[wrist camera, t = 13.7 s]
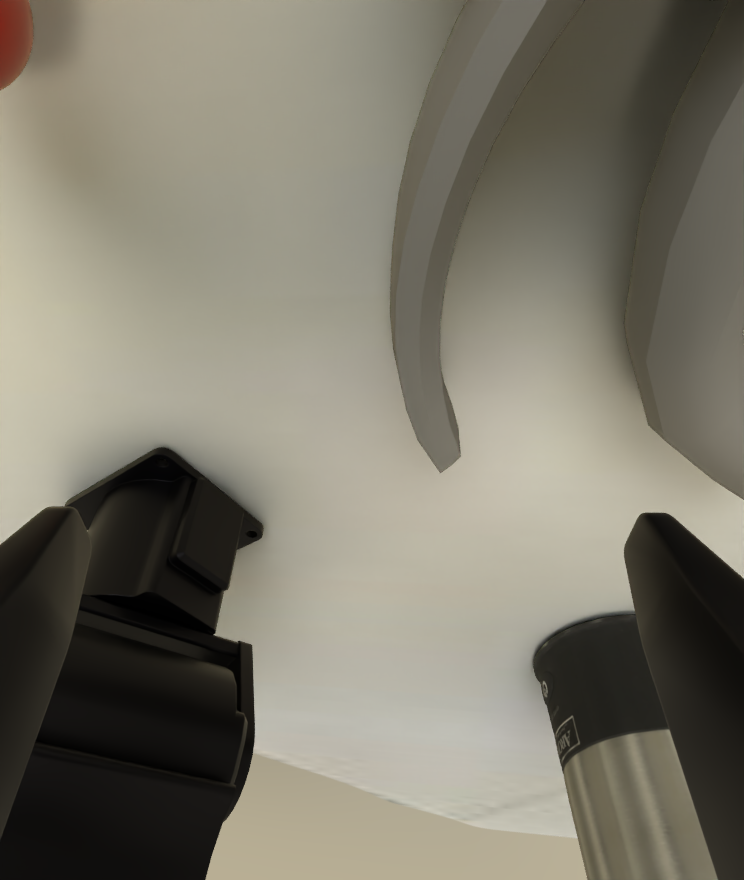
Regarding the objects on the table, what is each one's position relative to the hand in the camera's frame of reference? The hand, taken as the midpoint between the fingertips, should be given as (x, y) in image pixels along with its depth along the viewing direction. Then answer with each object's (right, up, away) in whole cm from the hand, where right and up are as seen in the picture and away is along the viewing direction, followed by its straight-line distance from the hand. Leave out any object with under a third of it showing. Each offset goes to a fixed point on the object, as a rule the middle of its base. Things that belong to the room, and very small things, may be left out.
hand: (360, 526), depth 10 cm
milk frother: (+18, -12, +27) cm, 35 cm away
